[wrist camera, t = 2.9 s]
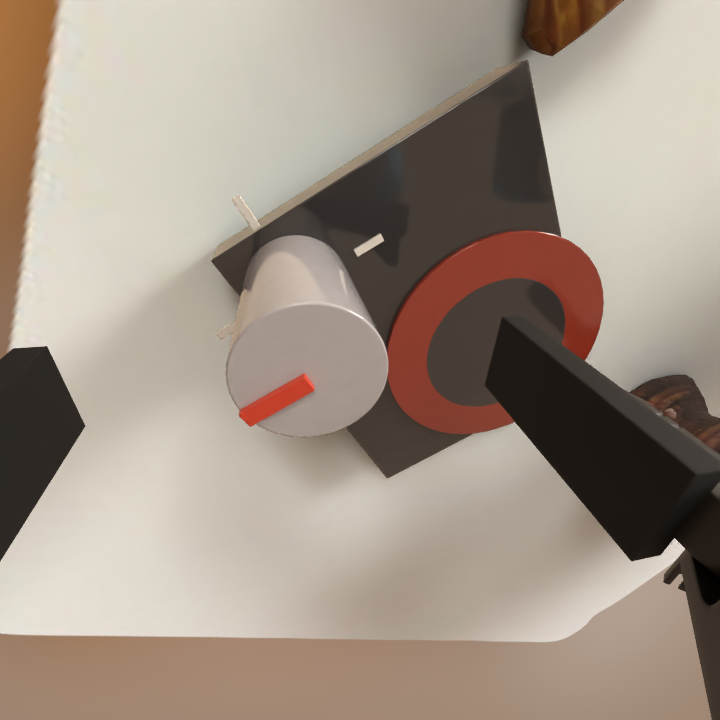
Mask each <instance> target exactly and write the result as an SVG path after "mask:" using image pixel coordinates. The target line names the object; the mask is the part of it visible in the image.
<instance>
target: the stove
mask: <svg viewBox="0 0 720 720" xmlns="http://www.w3.org/2000/svg"><path fill="white" fill-rule="evenodd" d="M232 201H233V203H234V204H235V205H236V207H237V208H238V210H239V211H240V213H241V214H242V215H243V217H244V218H245V220H246V221H247V223H248V224H249V225H250V226H248V227H246V228H245V229H243V230H242V231H240V232H239V233H237V234H235V235H234V236H232V237H231V238H229V239H228V240H226V241H225V242H223V243H221V244H220V245H219V246H218V247H217V249H216V252H215V254H214V256H213V258H212V260H211V262H212V263H213V264H214V265H215V267H216V268H217V269H218V270H219V272H220V273H221V274H222V275H223V277H224V278H225V279H226V280H227V281H228V283H229V284H230V285H231V286H232V288H233V289H234V290H235V291H236V293H237V294H238V295H239V296H240V297H241V292H242V287H243V282H244V277H245V273H246V269H247V267H248V264H249V262H250V260H251V259H252V257H253V256H254V255H255V253H256V252H257V251H258V250H259V249H260V248H261V247H263V246H264V245H265V244H267V243H268V242H270V241H272V240H274V239H277V238H280V237H284V236H290V235H302V236H308V237H312V238H315V239H317V240H319V241H321V242H323V243H325V244H326V245H328V246H329V247H331V248H332V249H333V250H334V251H335V252H336V253H337V254H338V256H339V257H340V258H341V260H342V261H343V263H344V265H345V267H346V269H347V271H348V273H349V275H350V277H351V279H352V281H353V283H354V285H355V287H356V289H357V291H358V293H359V295H360V297H361V299H362V301H363V303H364V305H365V307H366V309H367V310H368V312H369V314H370V316H371V318H372V320H373V322H374V324H375V326H376V328H377V330H378V332H379V334H380V336H381V338H382V340H383V342H384V344H385V347H386V349H387V342H388V338H389V335H390V331H391V328H392V325H393V323H394V321H395V318H396V316H397V314H398V312H399V310H400V308H401V307H402V305H403V303H404V302H405V300H406V298H407V297H408V296H409V294H410V293H411V292H412V290H413V289H414V288H415V286H416V285H417V284H418V283H419V282H420V281H421V280H422V279H423V278H424V277H425V276H426V274H427V273H428V272H429V271H431V270H432V269H433V268H434V267H435V266H436V265H438V264H439V263H440V262H441V261H442V260H444V259H445V258H447V257H448V256H450V255H451V254H453V253H454V252H456V251H457V250H459V249H461V248H463V247H465V246H467V245H469V244H471V243H473V242H475V241H477V240H480V239H483V238H485V237H488V236H491V235H495V234H499V233H504V232H508V231H519V230H532V231H542V232H546V233H551V234H554V235H557V236H559V237H561V232H560V227H559V222H558V216H557V211H556V206H555V201H554V195H553V190H552V185H551V179H550V174H549V169H548V163H547V158H546V153H545V148H544V142H543V137H542V132H541V126H540V121H539V116H538V111H537V105H536V100H535V95H534V89H533V84H532V79H531V74H530V68H529V63H528V60H525V61H522V62H518V63H514V64H511V65H507V66H503V67H500V68H496V69H494V70H493V71H491V72H490V73H488V74H487V75H485V76H483V77H482V78H480V79H479V80H477V81H476V82H474V83H472V84H471V85H469V86H468V87H466V88H465V89H463V90H461V91H460V92H458V93H457V94H455V95H454V96H452V97H450V98H449V99H447V100H446V101H444V102H443V103H441V104H439V105H438V106H436V107H435V108H433V109H432V110H430V111H428V112H427V113H425V114H424V115H422V116H421V117H419V118H417V119H416V120H414V121H413V122H411V123H410V124H408V125H406V126H405V127H403V128H402V129H400V130H399V131H397V132H396V133H394V134H392V135H391V136H389V137H388V138H386V139H385V140H383V141H381V142H380V143H378V144H377V145H375V146H374V147H372V148H370V149H369V150H367V151H366V152H364V153H363V154H361V155H359V156H358V157H356V158H355V159H353V160H352V161H350V162H348V163H347V164H345V165H344V166H342V167H341V168H339V169H337V170H336V171H334V172H333V173H331V174H330V175H328V176H326V177H325V178H323V179H322V180H320V181H319V182H317V183H315V184H314V185H312V186H311V187H309V188H308V189H306V190H305V191H303V192H301V193H300V194H298V195H297V196H295V197H294V198H292V199H290V200H289V201H287V202H286V203H284V204H283V205H281V206H279V207H278V208H276V209H275V210H273V211H272V212H270V213H268V214H267V215H265V216H264V217H262V218H261V219H259V220H256V218H255V217H254V215H253V214H252V212H251V211H250V209H249V208H248V207H247V205H246V204H245V202H244V201H243V199H242V198H241V196H240V195H238V196H236V197H234V198H233V199H232ZM234 325H235V321H234V322H233V323H231V324H230V325H228V326H226V327H225V328H223V329H221V330H220V331H218V332H216V334H217V336H218V337H219V338H220V339H222V338H224V337H226V336H227V335H229V334H230V333H232V332H233V330H234ZM346 428H347V429H348V431H349V432H350V433H351V434H352V436H353V437H354V438H355V439H356V440H357V442H358V443H359V444H360V445H361V447H362V448H363V449H364V450H365V452H366V453H367V454H368V455H369V457H370V458H371V459H372V460H373V461H374V463H375V464H376V465H377V466H378V468H379V469H380V470H381V471H382V473H383V474H384V475H385V476H386V477H387V478H389V477H391V476H393V475H395V474H397V473H399V472H401V471H403V470H405V469H407V468H409V467H410V466H412V465H414V464H416V463H418V462H420V461H422V460H424V459H426V458H428V457H430V456H432V455H433V454H435V453H437V452H439V451H441V450H443V449H445V448H447V447H449V446H451V445H453V444H455V443H456V442H458V441H460V440H462V439H464V438H466V437H468V436H470V435H472V434H474V433H471V434H451V433H445V432H440V431H436V430H433V429H430V428H428V427H425V426H423V425H421V424H419V423H418V422H416V421H415V420H413V419H412V418H411V417H409V416H408V415H407V414H406V413H405V412H404V411H403V410H402V408H401V407H400V406H399V405H398V403H397V402H396V400H395V398H394V396H393V394H392V392H391V389H390V386H389V383H388V380H386V384H385V387H384V389H383V391H382V393H381V395H380V397H379V399H378V400H377V402H376V403H375V404H374V405H373V407H372V408H371V409H370V410H369V411H368V412H367V413H366V414H365V415H364V416H362V417H361V418H360V419H359V420H357V421H356V422H354V423H352V424H351V425H349V426H347V427H346Z"/></svg>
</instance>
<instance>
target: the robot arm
mask: <svg viewBox="0 0 720 720" xmlns="http://www.w3.org/2000/svg"><path fill="white" fill-rule="evenodd" d="M485 387H486V388H487V389H488V390H489V391H490V392H491V394H492V395H493V396H494V397H495V398H496V400H497V401H498V402H499V403H500V404H501V406H502V407H503V408H504V409H505V410H506V412H507V413H508V414H509V415H510V416H511V418H512V419H513V420H514V421H515V422H516V424H517V425H518V426H519V427H520V428H521V430H522V431H523V432H524V433H525V434H526V436H527V437H528V438H529V439H530V440H531V442H532V443H533V444H534V445H535V446H536V448H537V449H538V450H539V451H540V452H541V454H542V455H543V456H544V457H545V458H546V460H547V461H548V462H549V463H550V464H551V466H552V467H553V468H554V469H555V470H556V472H557V473H558V474H559V475H560V476H561V478H562V479H563V480H564V481H565V482H566V483H567V485H568V486H569V487H570V488H571V489H572V491H573V492H574V493H575V494H576V495H577V497H578V498H579V499H580V500H581V501H582V503H583V504H584V505H585V506H586V507H587V509H588V510H589V511H590V512H591V513H592V515H593V516H594V517H595V518H596V519H597V521H598V522H599V523H600V524H601V525H602V527H603V528H604V529H605V530H606V531H607V533H608V534H609V535H610V536H611V537H612V539H613V540H614V541H615V542H616V543H617V545H618V546H619V547H620V548H621V549H622V551H623V552H624V553H625V554H626V555H627V557H628V558H629V559H630V560H631V561H635V560H640V559H644V558H649V557H654V556H658V555H661V554H662V553H663V551H664V550H665V549H666V548H667V546H668V545H669V544H670V543H671V541H672V540H673V539H674V538H675V539H676V540H677V541H678V542H679V543H680V544H681V545H682V546H683V547H684V548H685V550H684V551H683V553H682V554H681V555H680V556H679V557H678V559H677V560H676V561H675V562H674V563H673V564H672V566H671V567H670V568H669V569H668V570H667V571H666V573H665V574H664V581H663V582H664V583H666V584H671V582H672V581H673V580H674V579H675V578H676V577H677V576H678V574H682V575H683V581H682V583H681V584H680V585H679V587H678V589H680V590H683V591H685V592H686V595H687V600H688V605H689V609H690V614H691V619H692V624H693V629H694V634H695V639H696V644H697V649H698V654H699V659H700V664H701V668H702V673H703V678H704V683H705V688H706V693H707V698H708V703H709V708H710V713H711V717H712V720H720V454H719V453H717V452H716V451H714V450H713V449H712V448H710V447H709V446H708V445H706V444H705V443H703V442H702V441H701V440H699V439H698V438H696V437H695V436H694V435H692V434H691V433H690V432H688V431H687V430H685V429H684V428H679V425H678V424H677V423H676V422H674V421H673V420H672V419H670V418H669V417H667V416H665V417H664V416H663V413H662V412H660V411H659V410H658V409H656V408H655V407H654V406H652V405H651V404H649V403H648V402H647V401H645V400H644V399H641V398H639V397H637V396H635V395H633V394H631V393H629V392H627V391H625V390H623V389H622V388H620V387H619V386H618V385H616V384H615V383H614V382H612V381H611V380H610V379H608V378H607V377H606V376H604V375H603V374H601V373H600V372H599V371H597V370H596V369H595V368H593V367H592V366H591V365H589V364H588V363H587V362H585V361H584V360H582V359H581V358H580V357H578V356H577V355H576V354H574V353H573V352H572V351H570V350H569V349H568V348H566V347H565V346H563V345H562V344H561V343H559V342H558V341H557V340H555V339H554V338H553V337H551V336H550V335H549V334H547V333H546V332H544V331H543V330H542V329H540V328H539V327H538V326H536V325H535V324H534V323H532V322H531V321H530V320H528V319H527V318H526V317H524V316H509V317H502V319H501V323H500V327H499V330H498V334H497V338H496V342H495V346H494V350H493V354H492V358H491V362H490V366H489V370H488V374H487V378H486V381H485ZM84 427H85V424H84V422H83V420H82V418H81V416H80V414H79V412H78V410H77V408H76V406H75V404H74V402H73V399H72V397H71V395H70V393H69V391H68V389H67V387H66V385H65V383H64V381H63V379H62V377H61V374H60V372H59V370H58V368H57V366H56V364H55V362H54V360H53V358H52V356H51V354H50V352H49V349H48V347H47V346H46V347H30V348H15V349H12V350H11V351H10V352H9V353H7V354H6V355H5V356H4V357H3V358H2V359H0V561H1V559H2V558H3V556H4V555H5V553H6V551H7V550H8V548H9V547H10V545H11V543H12V542H13V540H14V539H15V537H16V535H17V534H18V532H19V531H20V529H21V528H22V526H23V524H24V523H25V521H26V520H27V518H28V516H29V515H30V513H31V512H32V510H33V508H34V507H35V505H36V504H37V502H38V500H39V499H40V497H41V496H42V494H43V492H44V491H45V489H46V488H47V486H48V485H49V483H50V481H51V480H52V478H53V477H54V475H55V473H56V472H57V470H58V469H59V467H60V465H61V464H62V462H63V461H64V459H65V457H66V456H67V454H68V453H69V451H70V450H71V448H72V446H73V445H74V443H75V442H76V440H77V438H78V437H79V435H80V434H81V432H82V430H83V429H84Z"/></svg>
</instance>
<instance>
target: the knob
mask: <svg viewBox="0 0 720 720" xmlns="http://www.w3.org/2000/svg"><path fill="white" fill-rule="evenodd" d="M388 362H389V361H388V355H387V350H386V347H385V344H384V342H383V340H382V338H381V336H380V334H379V332H378V330H377V328H376V326H375V324H374V322H373V320H372V318H371V316H370V314H369V312H368V310H367V309H366V307H365V305H364V303H363V301H362V299H361V297H360V295H359V293H358V291H357V289H356V287H355V285H354V283H353V281H352V279H351V277H350V275H349V273H348V271H347V269H346V267H345V265H344V263H343V261H342V260H341V258H340V257H339V256H338V254H337V253H336V252H335V251H334V250H333V249H332V248H331V247H329V246H328V245H326V244H325V243H323V242H321V241H319V240H317V239H315V238H312V237H308V236H302V235H290V236H284V237H280V238H277V239H274V240H272V241H270V242H268V243H267V244H265V245H264V246H263V247H261V248H260V249H259V250H258V251H257V252H256V253H255V255H254V256H253V257H252V259H251V260H250V262H249V264H248V267H247V269H246V273H245V277H244V282H243V287H242V292H241V297H240V301H239V306H238V311H237V316H236V320H235V325H234V330H233V335H232V339H231V344H230V349H229V354H228V358H227V363H226V382H227V386H228V390H229V393H230V395H231V397H232V399H233V401H234V403H235V404H236V406H237V407H238V409H239V410H240V411H239V417H240V418H241V419H243V420H244V421H245V422H246V423H247V424H248V425H249V426H250V427H251V426H253V425H255V424H256V425H258V426H260V427H262V428H264V429H266V430H268V431H271V432H274V433H276V434H281V435H285V436H292V437H314V436H321V435H325V434H329V433H333V432H336V431H338V430H341V429H343V428H345V427H347V426H349V425H351V424H352V423H354V422H356V421H357V420H359V419H360V418H361V417H362V416H364V415H365V414H366V413H367V412H368V411H369V410H370V409H371V408H372V407H373V405H374V404H375V403H376V402H377V400H378V399H379V397H380V395H381V393H382V391H383V389H384V387H385V384H386V380H387V376H388Z"/></svg>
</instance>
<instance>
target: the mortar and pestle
mask: <svg viewBox="0 0 720 720" xmlns="http://www.w3.org/2000/svg"><path fill="white" fill-rule="evenodd" d="M631 394H633V395H635V396H637V397H639V398H641V399H644V400H645V401H647V402H648V403H649V404H651V405H652V406H654V407H655V408H656V409H658V410H659V411H660V412H662V413H663V416H664V417H665V416H667V417H669V418H670V419H672V420H673V421H674V422H676V423H677V424H678V425H679V428H684V429H685V430H687V431H688V432H690V433H691V434H692V435H694V436H695V437H696V438H698V439H699V440H701V441H702V442H703V443H705V444H706V445H708V446H709V447H710V448H712V449H713V450H714V451H716V452H717V453H719V454H720V418H718V417H713V416H711V415H710V414H709V413H708V408H707V406H706V403H705V399H704V397H703V396H702V394H701V392H700V390H699V389H698V387H697V386H696V384H695V382H694V380H693V379H692V378H690V377H688V376H687V375H672V376H666V377H662V378H658V379H653V380H651V381H649V382H647V383H645V384H643V385H641V387H640V388H638V389H635V390H634V391H632V392H631Z"/></svg>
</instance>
